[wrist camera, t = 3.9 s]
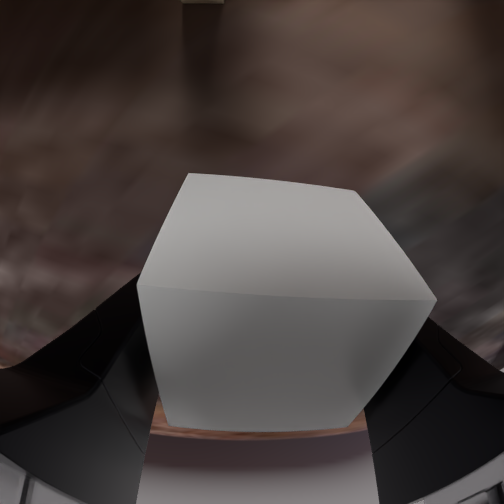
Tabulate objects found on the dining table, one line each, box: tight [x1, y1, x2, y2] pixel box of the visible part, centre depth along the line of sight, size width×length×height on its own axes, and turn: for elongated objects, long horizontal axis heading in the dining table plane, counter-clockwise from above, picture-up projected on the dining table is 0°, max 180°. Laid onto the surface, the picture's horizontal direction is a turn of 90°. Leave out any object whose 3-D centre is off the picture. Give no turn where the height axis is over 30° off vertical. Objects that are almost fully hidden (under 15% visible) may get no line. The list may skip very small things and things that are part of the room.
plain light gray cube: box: [137, 173, 437, 432], centre depth 8 cm, size 5×5×5 cm
